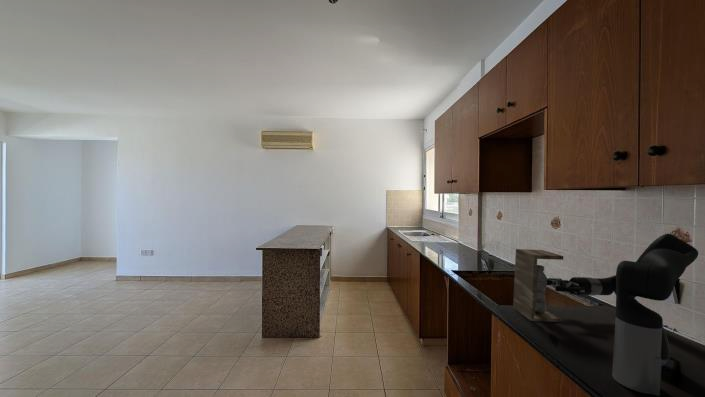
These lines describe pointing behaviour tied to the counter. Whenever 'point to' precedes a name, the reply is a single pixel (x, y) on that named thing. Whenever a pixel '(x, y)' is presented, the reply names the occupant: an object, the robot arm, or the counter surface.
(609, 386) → the counter surface
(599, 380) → the counter surface
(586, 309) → the counter surface
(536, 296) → the plastic bottle
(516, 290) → the cubby shelf
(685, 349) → the counter surface
